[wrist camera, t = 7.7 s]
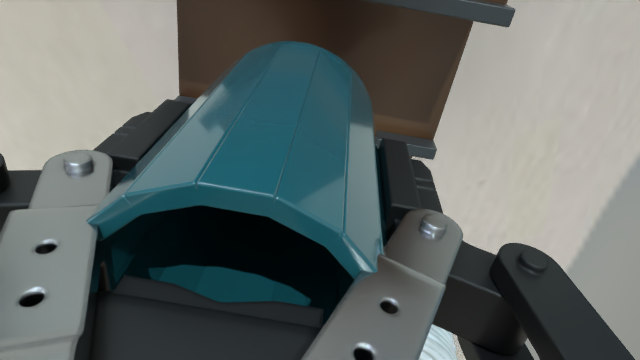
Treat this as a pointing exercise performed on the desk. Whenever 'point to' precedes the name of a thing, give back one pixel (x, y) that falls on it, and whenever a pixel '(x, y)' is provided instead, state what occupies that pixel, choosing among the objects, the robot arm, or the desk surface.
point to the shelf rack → (346, 49)
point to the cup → (258, 186)
